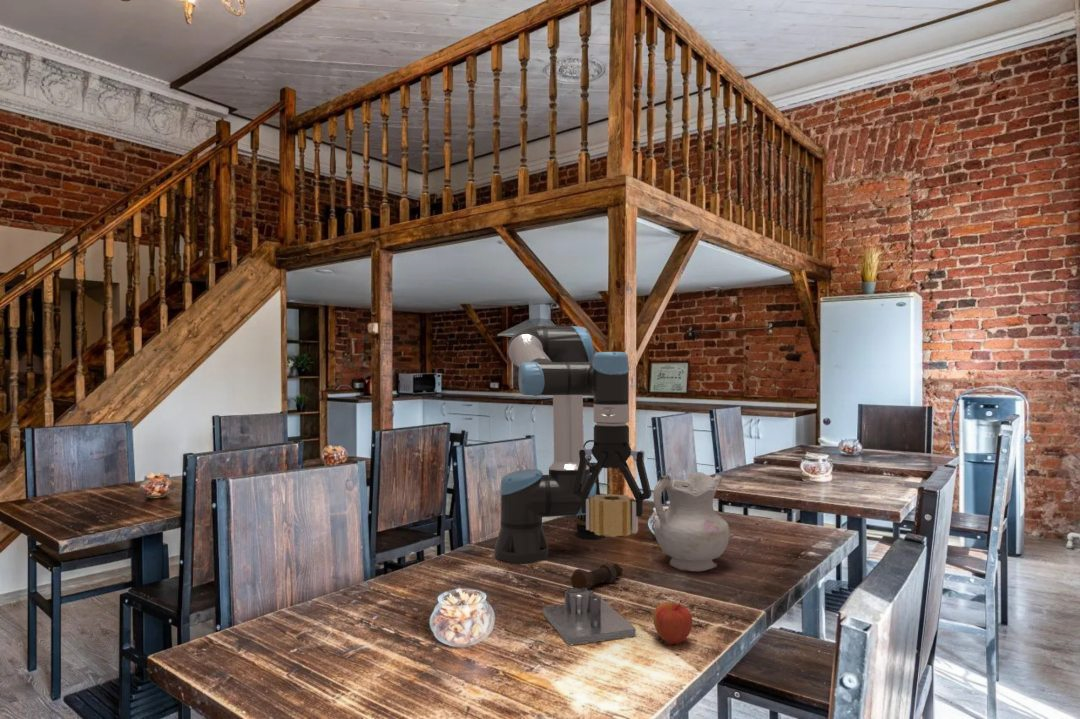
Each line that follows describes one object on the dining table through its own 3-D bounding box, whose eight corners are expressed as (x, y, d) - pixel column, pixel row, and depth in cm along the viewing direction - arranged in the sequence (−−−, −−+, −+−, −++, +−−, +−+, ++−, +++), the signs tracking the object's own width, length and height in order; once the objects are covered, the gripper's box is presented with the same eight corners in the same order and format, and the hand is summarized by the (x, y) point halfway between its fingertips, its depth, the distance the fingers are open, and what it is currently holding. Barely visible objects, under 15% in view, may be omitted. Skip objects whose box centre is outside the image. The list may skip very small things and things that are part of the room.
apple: (650, 633, 124) (650, 592, 124) (688, 633, 124) (687, 593, 124) (656, 650, 117) (656, 607, 117) (696, 650, 117) (695, 607, 117)
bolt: (620, 585, 157) (581, 599, 146) (607, 571, 160) (567, 583, 149) (630, 567, 155) (591, 580, 144) (616, 553, 158) (577, 565, 148)
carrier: (542, 614, 134) (542, 581, 134) (603, 606, 138) (603, 574, 138) (568, 646, 119) (568, 608, 119) (635, 636, 123) (635, 600, 123)
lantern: (573, 532, 200) (573, 438, 200) (601, 531, 201) (601, 437, 201) (578, 540, 191) (578, 441, 191) (607, 539, 192) (607, 441, 192)
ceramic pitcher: (692, 588, 153) (699, 487, 152) (631, 562, 167) (637, 470, 166) (740, 569, 167) (747, 477, 166) (680, 547, 182) (686, 462, 180)
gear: (585, 534, 130) (585, 500, 130) (595, 524, 139) (595, 492, 139) (629, 538, 127) (629, 503, 127) (637, 527, 136) (636, 495, 136)
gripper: (557, 424, 133) (557, 530, 133) (660, 426, 127) (661, 538, 126) (566, 421, 141) (567, 522, 140) (665, 423, 134) (666, 529, 133)
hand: (611, 530), depth 133 cm, fingers closed on gear, 9 cm apart
